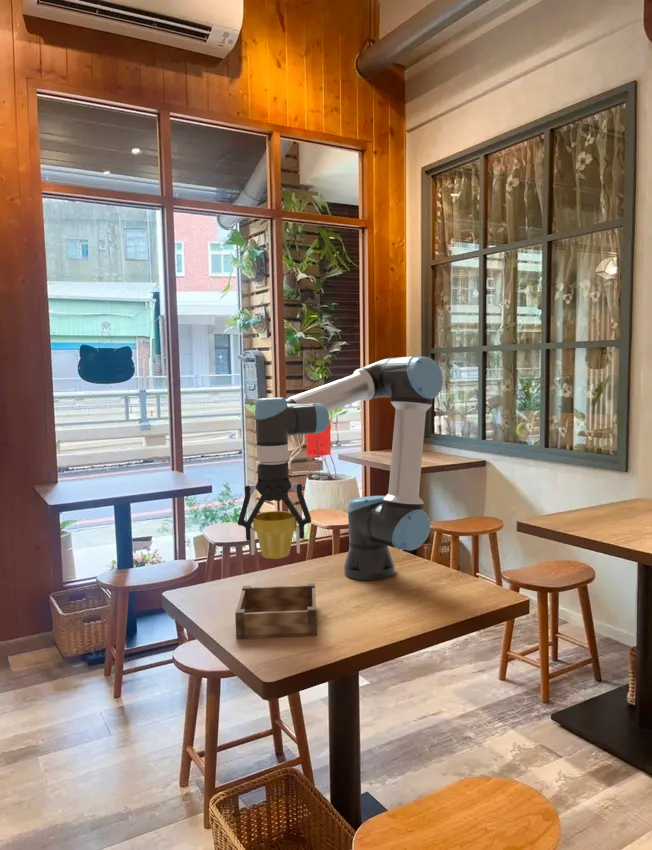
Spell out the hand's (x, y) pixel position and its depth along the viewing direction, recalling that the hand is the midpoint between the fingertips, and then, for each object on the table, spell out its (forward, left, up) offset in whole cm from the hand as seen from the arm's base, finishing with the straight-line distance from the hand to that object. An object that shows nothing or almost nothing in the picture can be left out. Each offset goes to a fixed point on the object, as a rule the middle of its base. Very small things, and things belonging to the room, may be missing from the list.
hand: (275, 552), depth 157 cm
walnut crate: (0, 0, -17) cm, 17 cm away
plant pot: (0, 0, -1) cm, 1 cm away
